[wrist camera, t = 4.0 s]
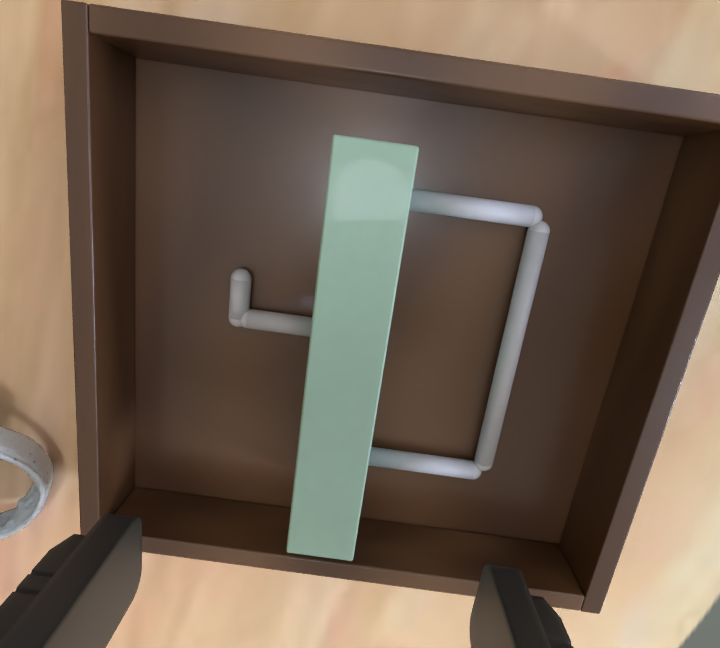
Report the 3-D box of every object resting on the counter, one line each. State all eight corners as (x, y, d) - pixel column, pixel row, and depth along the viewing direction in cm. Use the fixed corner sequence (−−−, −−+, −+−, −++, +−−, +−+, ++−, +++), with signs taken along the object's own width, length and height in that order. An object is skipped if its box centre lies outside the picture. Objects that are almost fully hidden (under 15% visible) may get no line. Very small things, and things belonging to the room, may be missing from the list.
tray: (701, 118, 18) (781, 102, 14) (566, 550, 23) (599, 614, 20) (122, 35, 17) (59, -2, 14) (124, 490, 23) (80, 544, 19)
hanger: (558, 178, 18) (626, 175, 13) (481, 495, 22) (511, 583, 17) (242, 133, 18) (193, 113, 13) (222, 460, 22) (179, 539, 17)
